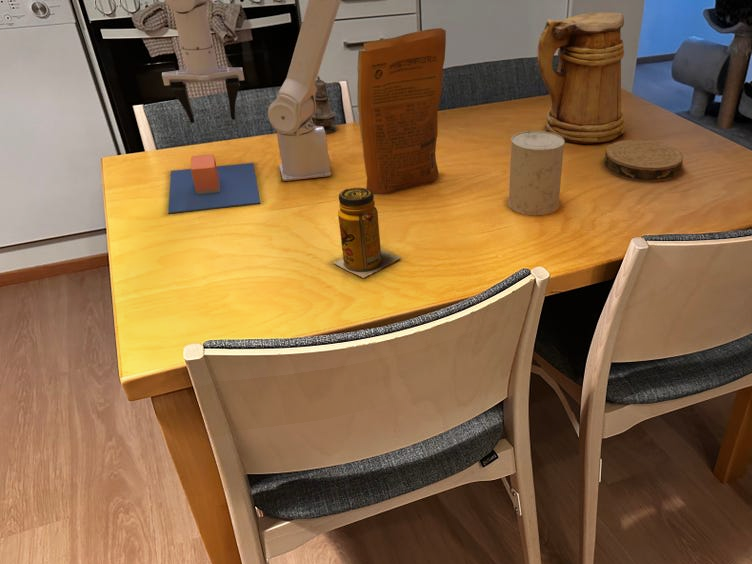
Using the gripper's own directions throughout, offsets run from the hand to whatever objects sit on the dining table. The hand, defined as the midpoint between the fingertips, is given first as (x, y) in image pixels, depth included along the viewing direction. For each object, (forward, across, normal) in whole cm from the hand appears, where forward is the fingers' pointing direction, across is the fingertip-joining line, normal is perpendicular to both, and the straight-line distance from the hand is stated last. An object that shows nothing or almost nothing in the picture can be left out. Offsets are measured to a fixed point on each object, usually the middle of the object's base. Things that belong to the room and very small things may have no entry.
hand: (213, 119), depth 138 cm
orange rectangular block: (+9, -3, -11) cm, 14 cm away
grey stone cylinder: (+10, +55, -35) cm, 66 cm away
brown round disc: (+10, +84, -24) cm, 88 cm away
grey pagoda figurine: (+10, +23, +16) cm, 30 cm away
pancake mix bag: (+10, +34, -20) cm, 41 cm away
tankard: (+10, +79, -1) cm, 80 cm away
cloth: (+9, -2, -11) cm, 14 cm away
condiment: (+10, +21, -48) cm, 53 cm away
